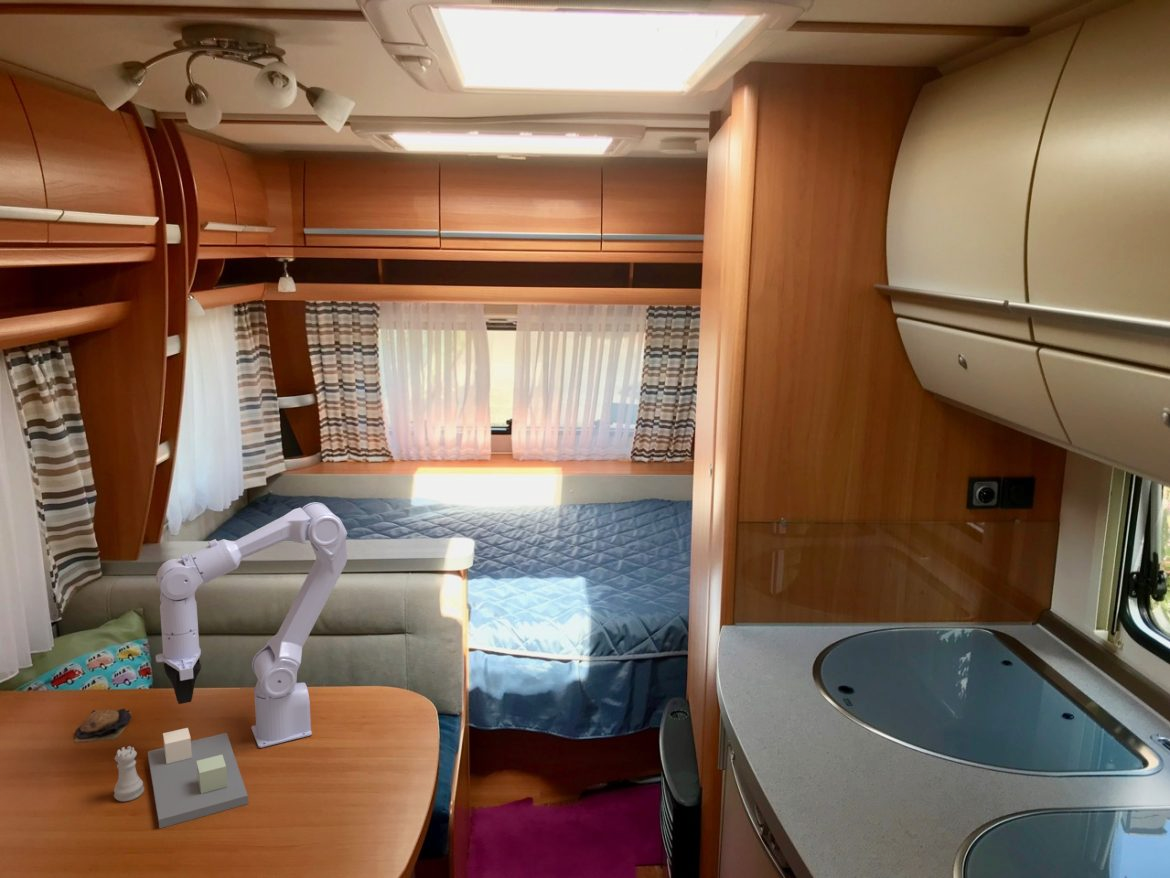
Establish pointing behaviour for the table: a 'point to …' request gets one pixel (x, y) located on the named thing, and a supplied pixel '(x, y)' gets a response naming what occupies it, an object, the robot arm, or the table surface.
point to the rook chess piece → (127, 776)
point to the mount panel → (194, 783)
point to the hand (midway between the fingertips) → (184, 701)
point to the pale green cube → (211, 773)
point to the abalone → (103, 725)
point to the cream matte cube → (177, 745)
